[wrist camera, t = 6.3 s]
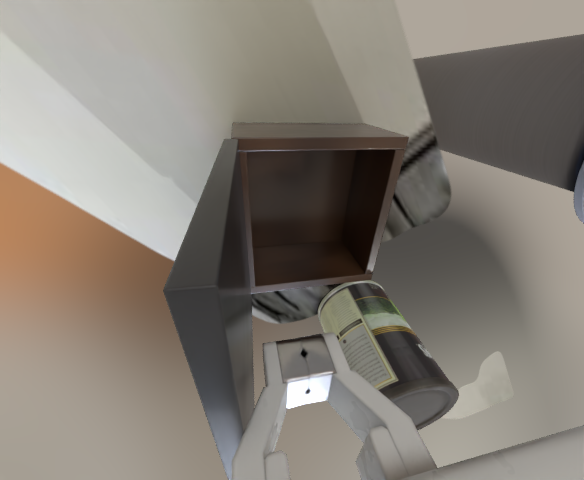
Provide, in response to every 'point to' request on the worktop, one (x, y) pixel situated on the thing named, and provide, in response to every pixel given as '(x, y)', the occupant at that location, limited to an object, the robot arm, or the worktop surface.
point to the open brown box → (315, 200)
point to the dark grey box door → (217, 304)
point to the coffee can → (386, 350)
